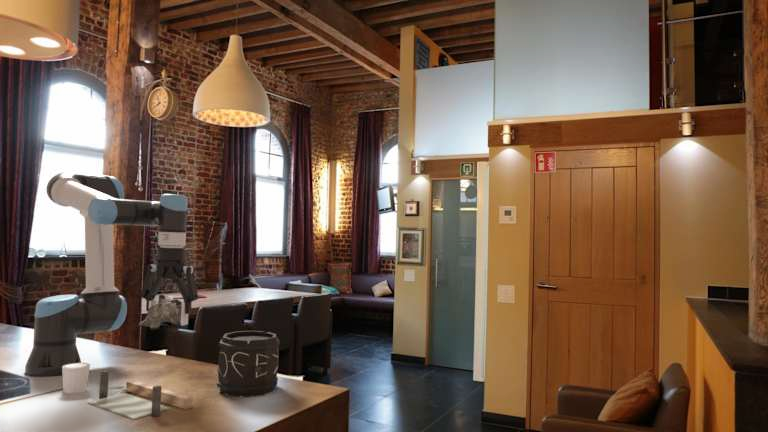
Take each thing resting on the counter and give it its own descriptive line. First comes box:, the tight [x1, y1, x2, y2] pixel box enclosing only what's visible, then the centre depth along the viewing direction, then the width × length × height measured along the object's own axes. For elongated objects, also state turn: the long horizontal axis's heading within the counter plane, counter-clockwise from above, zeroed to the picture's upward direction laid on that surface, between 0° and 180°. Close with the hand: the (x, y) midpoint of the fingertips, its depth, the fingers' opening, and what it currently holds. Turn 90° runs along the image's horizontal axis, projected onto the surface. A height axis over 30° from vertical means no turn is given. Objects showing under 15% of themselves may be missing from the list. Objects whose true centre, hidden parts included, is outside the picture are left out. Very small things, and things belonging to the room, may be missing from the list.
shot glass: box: [61, 362, 91, 394], centre depth 153 cm, size 7×7×7 cm
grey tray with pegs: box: [87, 370, 193, 420], centre depth 142 cm, size 26×14×7 cm, turn 57°
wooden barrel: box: [216, 330, 280, 398], centre depth 159 cm, size 18×18×16 cm
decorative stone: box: [138, 294, 190, 331], centre depth 157 cm, size 16×9×10 cm, turn 158°
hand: (167, 323), depth 158 cm, fingers closed on decorative stone, 10 cm apart
